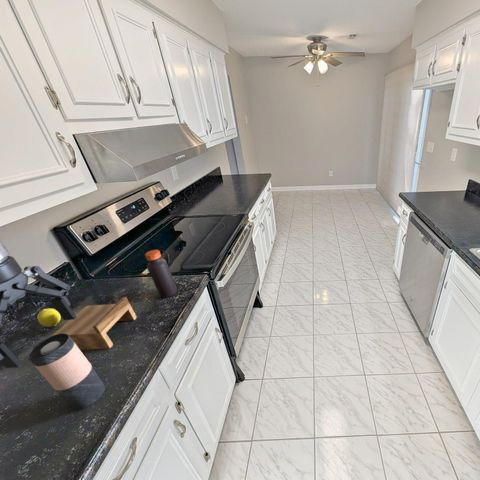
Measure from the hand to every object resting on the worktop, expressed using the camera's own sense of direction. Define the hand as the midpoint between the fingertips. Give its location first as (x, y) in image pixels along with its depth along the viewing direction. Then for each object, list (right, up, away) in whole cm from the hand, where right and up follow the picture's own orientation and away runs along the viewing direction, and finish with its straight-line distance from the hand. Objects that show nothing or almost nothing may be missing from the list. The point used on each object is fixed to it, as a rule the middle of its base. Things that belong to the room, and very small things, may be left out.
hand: (45, 340), depth 59 cm
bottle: (0, +1, +49) cm, 49 cm away
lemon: (-35, -9, +36) cm, 51 cm away
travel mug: (+1, -19, +10) cm, 22 cm away
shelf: (-13, -10, +31) cm, 35 cm away
